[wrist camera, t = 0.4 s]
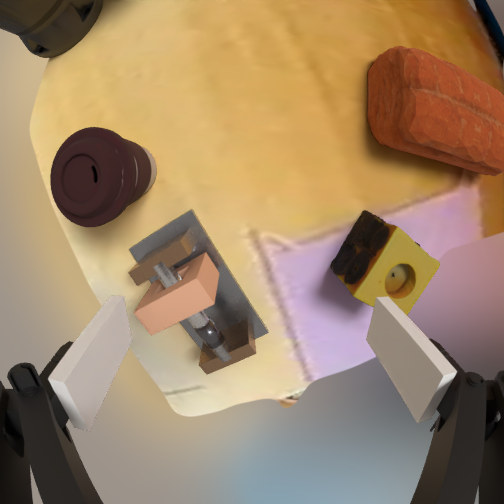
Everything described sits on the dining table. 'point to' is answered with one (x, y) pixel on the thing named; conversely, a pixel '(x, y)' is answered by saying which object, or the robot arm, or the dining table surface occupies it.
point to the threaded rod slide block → (226, 301)
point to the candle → (383, 263)
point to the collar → (179, 295)
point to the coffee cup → (99, 176)
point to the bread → (436, 111)
